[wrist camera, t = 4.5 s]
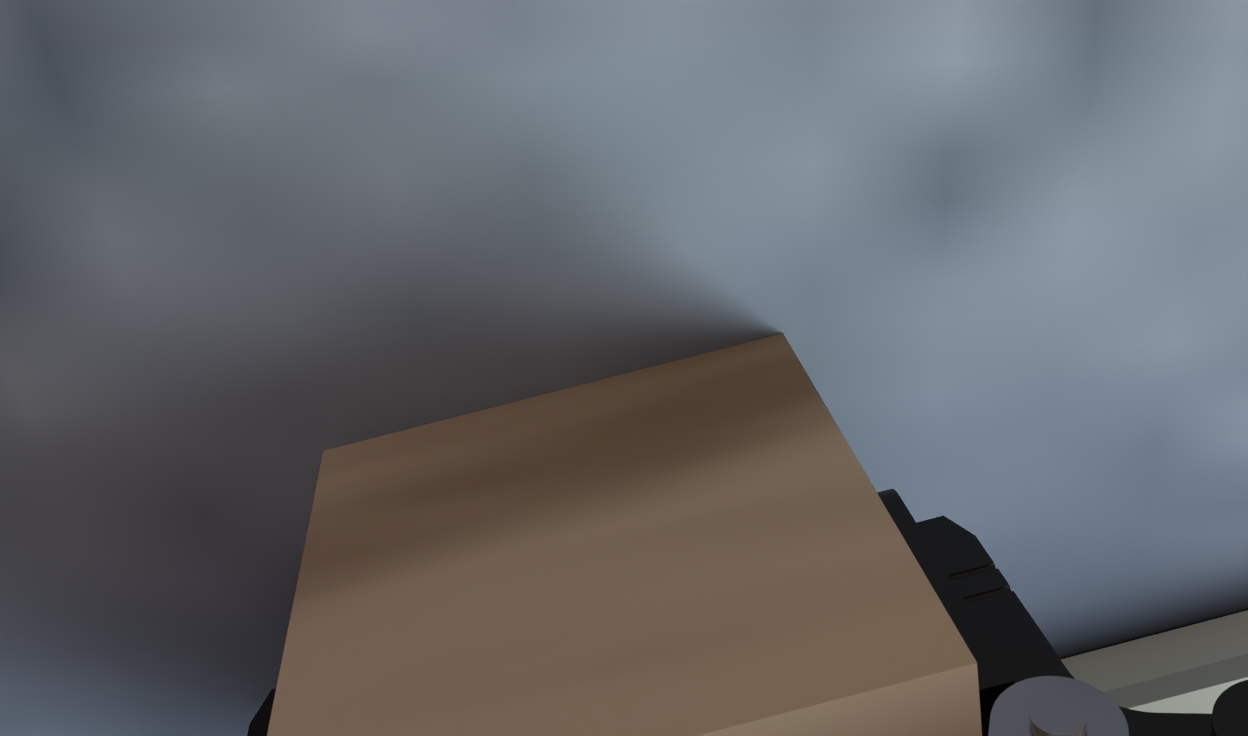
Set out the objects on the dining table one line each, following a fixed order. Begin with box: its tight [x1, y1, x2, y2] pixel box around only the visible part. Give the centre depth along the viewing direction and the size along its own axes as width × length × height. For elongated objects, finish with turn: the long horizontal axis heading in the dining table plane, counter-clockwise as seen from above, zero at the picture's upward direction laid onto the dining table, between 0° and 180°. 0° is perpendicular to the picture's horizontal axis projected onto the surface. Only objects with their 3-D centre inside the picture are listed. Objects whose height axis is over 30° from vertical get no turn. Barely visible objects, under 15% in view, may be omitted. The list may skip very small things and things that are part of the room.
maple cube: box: [267, 333, 982, 736], centre depth 13 cm, size 6×6×6 cm
